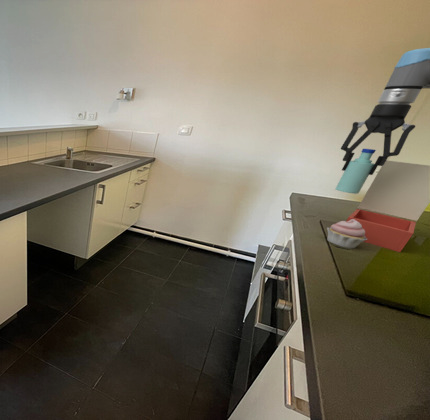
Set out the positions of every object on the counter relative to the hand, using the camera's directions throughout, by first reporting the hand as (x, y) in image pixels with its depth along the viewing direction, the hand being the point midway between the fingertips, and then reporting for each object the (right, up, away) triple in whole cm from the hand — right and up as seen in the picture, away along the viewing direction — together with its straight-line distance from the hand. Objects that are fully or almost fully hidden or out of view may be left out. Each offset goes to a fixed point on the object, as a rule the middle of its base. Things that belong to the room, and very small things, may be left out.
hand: (356, 172), depth 90 cm
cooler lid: (+14, -7, -2) cm, 15 cm away
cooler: (+5, -25, 0) cm, 25 cm away
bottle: (0, -7, +3) cm, 7 cm away
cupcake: (-13, -26, -6) cm, 30 cm away
